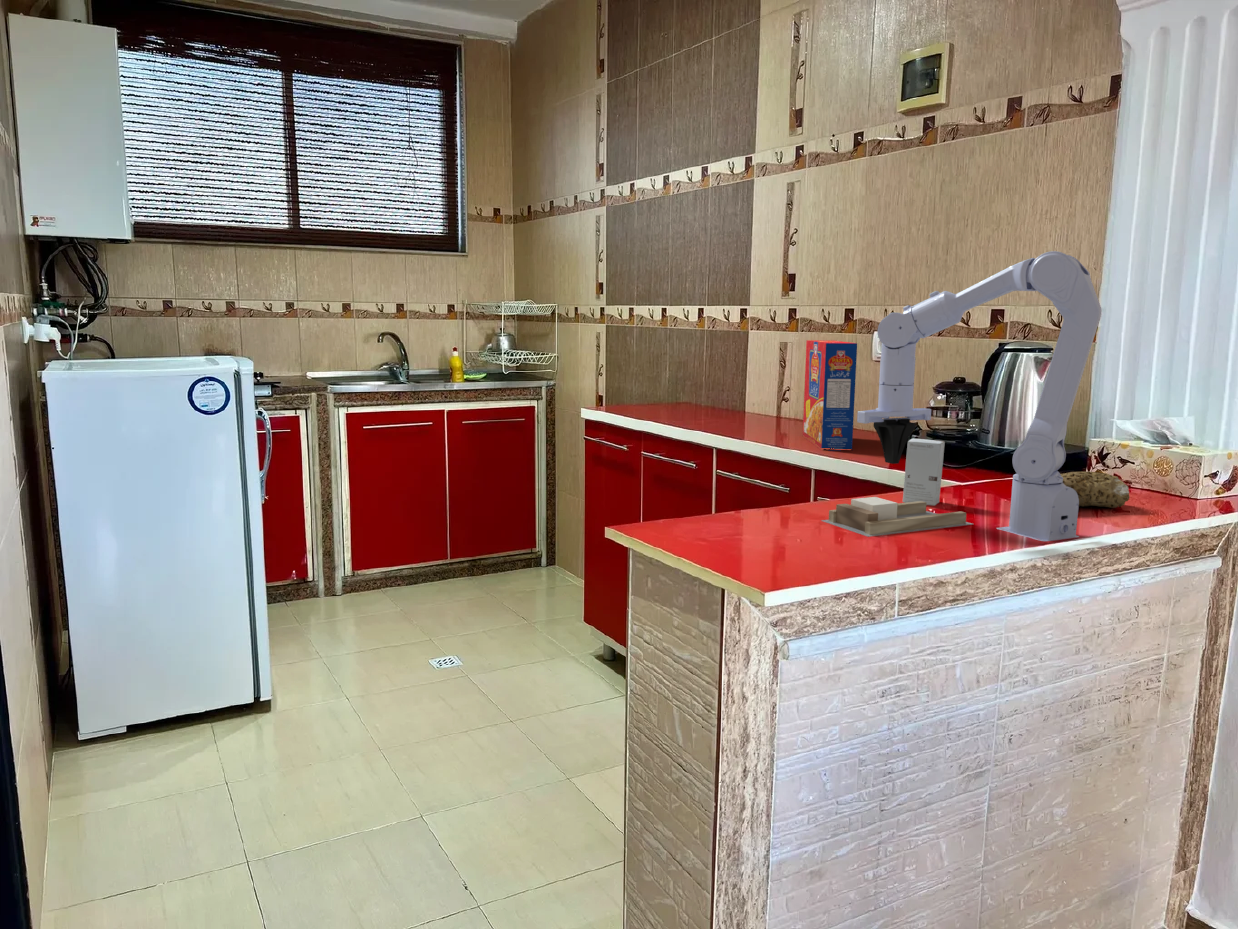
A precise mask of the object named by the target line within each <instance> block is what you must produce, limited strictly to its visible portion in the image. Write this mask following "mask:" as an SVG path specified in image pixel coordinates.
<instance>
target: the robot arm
mask: <svg viewBox="0 0 1238 929" xmlns="http://www.w3.org/2000/svg"><path fill="white" fill-rule="evenodd" d="M1012 292H1038V293H1039V294H1041V295H1042V296H1043V297H1045V298H1047V299H1048V300H1050V301H1051V303H1052V304H1053V306H1054V307H1055V308H1056V310H1057V311H1058V313H1059V314H1060V315H1061V316H1062V318H1063V321H1062V325H1061V328H1060V331H1059V335H1058V338H1057V341H1056V344H1055V347H1054V350H1053V355H1052V357H1051V360H1050V364H1049V367H1048V372H1047V373H1046V374H1047V375H1046V377H1045V381H1044V384H1043V387H1042V390H1041V394H1040V397H1039V400H1038V404H1037V407H1036V409H1035V410H1036V411H1035V413H1034V416H1033V419H1032V421H1031V423H1030V426H1029V427H1028V430H1027V432H1026V435H1025V438H1024V440H1023V442H1022V443H1021V444H1020V445H1018V447H1017V448H1016V449H1015V451H1014V453H1013V455H1012V467H1013V469H1014V471H1015V474H1013V475H1012V484H1011V485H1012V486H1011V497H1010V509H1009V511H1010V512H1009V521H1008V526H1002V527H996V529H997V530H1001V531H1004V532H1007V533H1011V534H1013V535H1014V534H1015V535H1018V536H1022V537H1026V538H1030V539H1033V540H1037V541H1041V542H1053V541H1059V540H1067V539H1075V538H1079V537H1080V536H1079V535H1077V527H1078V516H1079V507H1080V506H1079V498H1078V495H1077V492H1076V491H1075V490H1074V489H1072V488H1070V487H1067V486H1065V485H1064V484H1063V477H1061V475H1060V474H1061V473H1060V472H1059V471H1058V470H1060V469H1061V468H1062V466H1063V465H1064V463H1065V462H1066V457H1067V454H1066V453H1067V452H1066V449H1065V439H1066V435H1067V428H1068V421H1069V419H1070V416H1071V412H1072V408H1073V406H1074V402H1075V399H1076V397H1077V393H1078V391H1079V387H1080V384H1081V380H1082V377H1083V375H1084V372H1085V368H1086V365H1087V361H1088V358H1089V355H1090V352H1091V349H1092V345H1093V343H1094V339H1095V336H1096V334H1097V330H1098V326H1099V323H1100V320H1101V317H1102V306H1101V304H1100V301H1099V298H1098V295H1097V293H1096V290H1095V288H1094V283H1093V282H1092V277H1091V273H1090V271H1089V270H1088V269H1087V268H1086V267H1085V266H1084V265H1083V264H1082V263H1081V261H1080V260H1078V259H1077V257H1074V256H1072V255H1070V254H1066V253H1064V252H1062V251H1059V250H1057V251H1056V250H1052V251H1051V250H1050V251H1047V252H1043V253H1042V254H1040V255H1038V256H1037V257H1036V258H1034V257H1031V258H1028V259H1025V260H1022V261H1020V262H1017V263H1015V264H1013V265H1010V266H1008V267H1006V268H1005V269H1003V270H1000V271H998V272H997V273H995V274H993V275H991V276H988V277H987V278H985V279H983V280H981V281H979V282H977V283H975V284H973V285H970V286H969V287H967V288H965V289H964V290H961V291H959V292H957V293H953V292H951V291H948V290H943V291H942V292H940V291H939V290H935V291H933V292H931V293H929V298H927V299H924V300H922V301H920V302H918V303H916V304H914V305H911V304H910V305H908V304H907V305H905V306H903V307H902V310H903V312H902V313H901V312H890V313H889V314H888V315H886V316H885V317H884V318H882V320H881V321H880V322H879V324H878V326H877V337H878V340H879V341H880V342H881V347H880V349H881V350H880V352H881V353H880V358H879V359H880V362H879V379H878V380H879V381H878V397H877V398H878V399H877V400H878V403H877V407H876V408H874V409H868V410H866V409H865V410H860V411H859V410H857V414H856V415H857V421H856V423H860V424H870V423H873V428H874V429H875V431H876V434H877V436H878V438H879V441H880V444H881V448H882V451H883V452H882V453H883V456H884V457H883V458H884V462H885V463H887V464H891V465H894V464H895V465H896V464H900V461H901V459H902V454H903V452H904V450H905V446H906V444H907V443H908V441H909V438H910V436H911V435H912V433H913V431H914V430H915V429H916V422H911V421H931V420H932V419H931V418H932V409H931V408H926V407H921V408H920V407H919V408H914V407H913V406H914V392H915V391H914V389H915V372H916V348H917V347H916V346H917V343H918V342H920V340H921V339H926V338H928V337H930V336H932V335H934V334H937V333H939V332H941V331H944V330H946V329H948V328H950V327H952V326H955V325H957V324H958V323H960V322H961V321H962V318H963V315H965V312H966V311H969V310H972V309H973V308H976V307H979V306H981V305H983V304H985V303H989V302H990V301H993V300H995V299H997V298H1000V297H1002V296H1004V295H1007V294H1009V293H1012Z"/></svg>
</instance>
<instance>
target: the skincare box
mask: <svg viewBox="0 0 1238 929" xmlns="http://www.w3.org/2000/svg"><path fill="white" fill-rule="evenodd" d="M945 443H946V442H945V441H943V440H935V439H934V440H933V439H927V438H926V439H924V438H911V439H908V440H907V443H906V444H907V448H906V457H905V458H906V459H905V468H904V469H905V470H904V482H903V490H902V491H903V494H902V503H907V502H917V501H923V502H927V503H926V506H937V505H938V504H939V503H940V500H941V499H940V496H941V487H942V486H941V485H942V476H943V467H944V466H943V463H944V453H945Z"/></svg>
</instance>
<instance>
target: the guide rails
mask: <svg viewBox="0 0 1238 929" xmlns="http://www.w3.org/2000/svg"><path fill="white" fill-rule="evenodd" d="M897 503H898V502H897ZM926 503H927V502H923V501H917V502H907V503H905V502H899V503H898V504H897V515H906V514H916V513H925V512H926V511H927V505H926ZM828 520H829V521H830V522H837V523H840V524H843V525H846V526H849V527H852V528H855V529H858V530H861V531H864V532H865V533H866V534H869V535H872V534H880V533H889V532H897V531H906V530H914V529H923V528H931V527H940V526H949V525H957V524H966V522H967V512H964V511H953V512H946V513H945V512H944V513H936V514H933V515H924V516H915V517H906V518H897V519H888V520H878V513H876V512H873V511H869V510H866V509H863V508H859V507H856V506H853V505H851V504H849V503H838V504H836V506H835V509H830V510H828Z"/></svg>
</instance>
